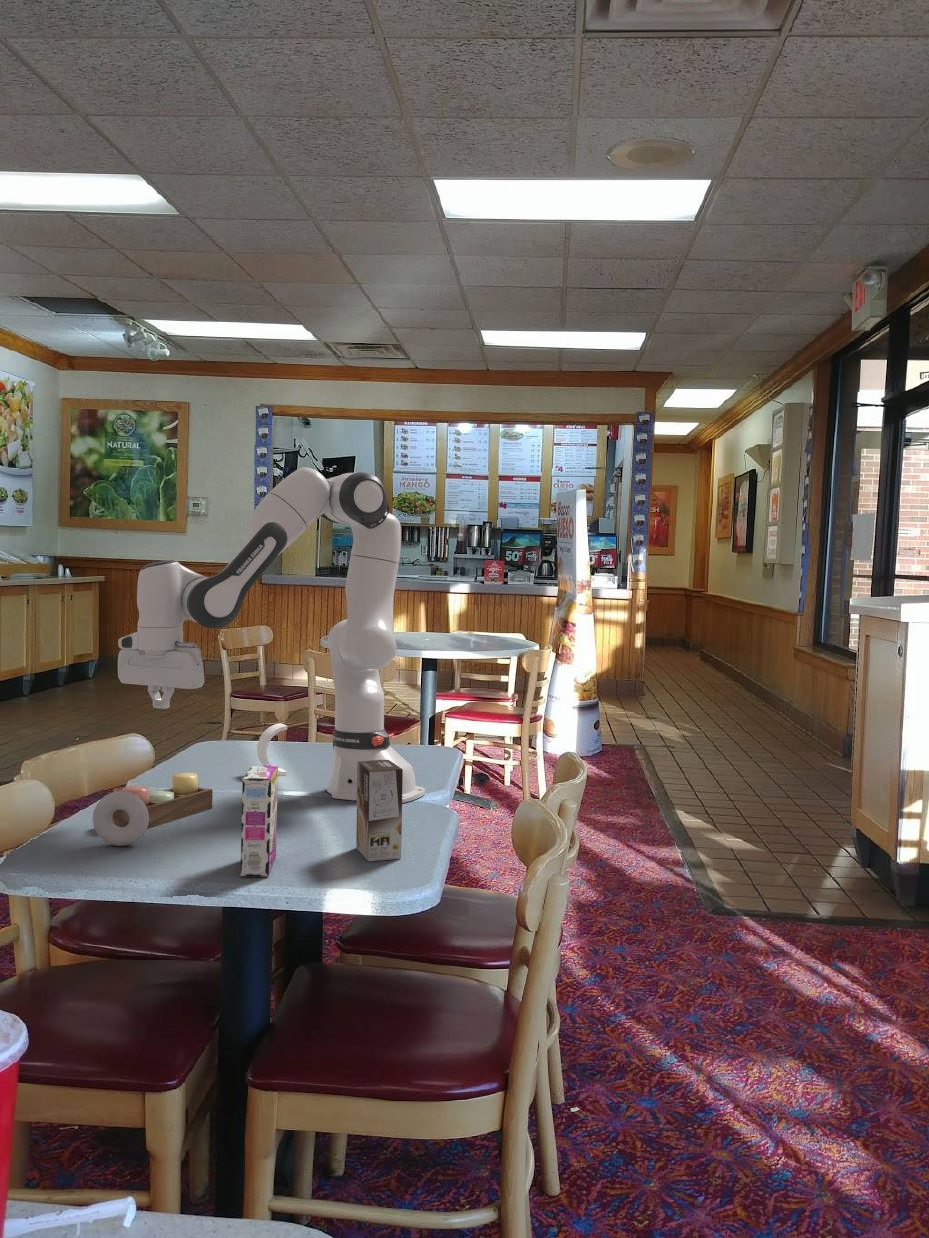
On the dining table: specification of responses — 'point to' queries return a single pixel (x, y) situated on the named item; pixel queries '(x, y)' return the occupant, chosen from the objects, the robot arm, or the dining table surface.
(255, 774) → the candy bar box
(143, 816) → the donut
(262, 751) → the headphone stand
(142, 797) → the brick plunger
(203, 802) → the wooden compartment tray
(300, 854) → the dining table surface
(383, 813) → the coffee box
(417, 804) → the dining table surface
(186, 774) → the yellow short cylinder
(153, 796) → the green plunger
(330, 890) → the dining table surface
